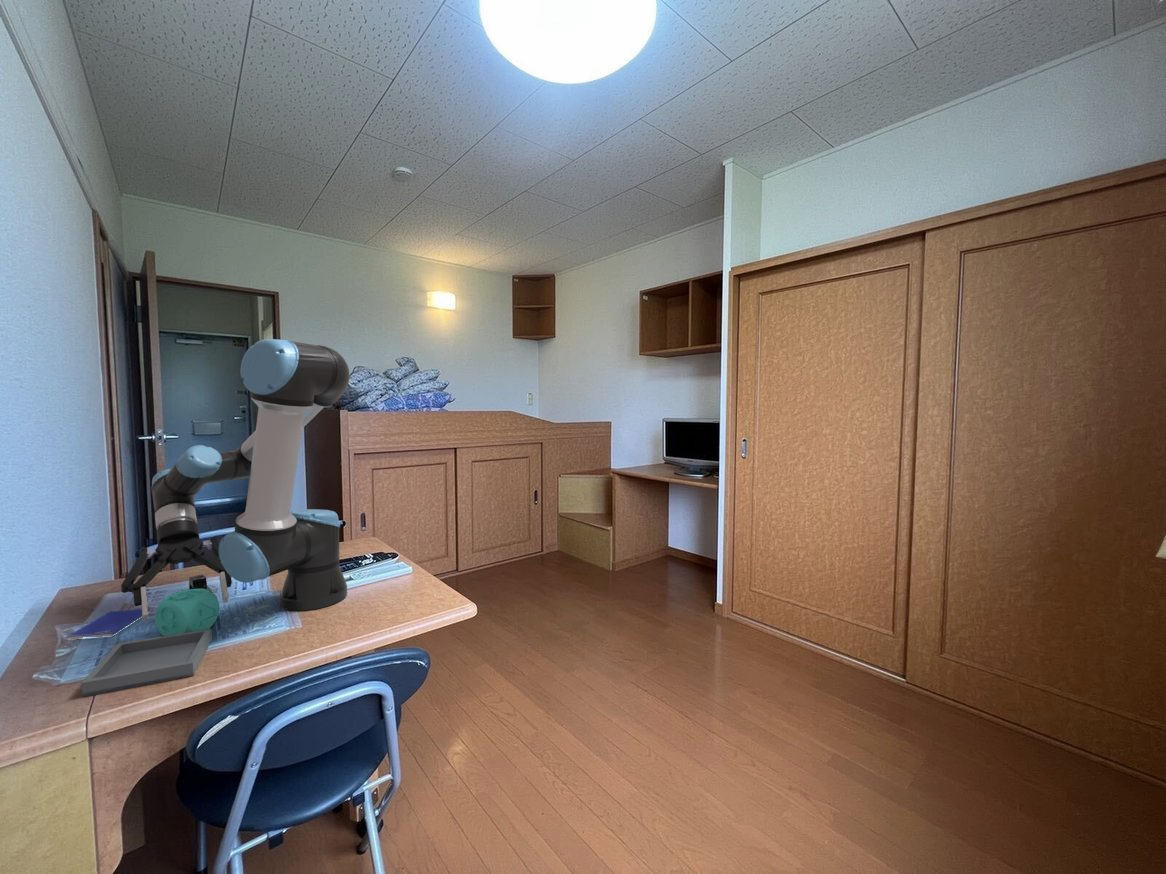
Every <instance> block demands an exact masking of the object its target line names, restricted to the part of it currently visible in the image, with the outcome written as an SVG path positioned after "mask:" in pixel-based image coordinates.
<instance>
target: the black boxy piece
mask: <svg viewBox="0 0 1166 874" xmlns="http://www.w3.org/2000/svg"><path fill="white" fill-rule="evenodd" d="M190 589H207V590H209V591H211V592H212V591H213V589H212V588H210V587H209V586H208V582H207V577H206V576H205V575H204V574H199V575H197V574H196V575H193V576H189V577H188V588H186V589H185V588H184V589H183V590H180V591H184V590H190ZM212 593H213V592H212Z"/></svg>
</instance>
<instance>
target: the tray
mask: <svg viewBox="0 0 1166 874" xmlns="http://www.w3.org/2000/svg"><path fill="white" fill-rule="evenodd" d="M212 631H213V630H212V628H209V629H206V630H199V631H193V632H187V633H180V634H174V635H168V636H164V635H162V636H155V637H150V638H143V639H138V640H137V639H136V640H130V641H125V642H119V643H116V644H115V646H113V647H112V649H110V651H109V652H108V653H107V654H106V655H105V656H104V657H103V658H102V660H101V661H100V662H99V663H98V664H97V665H96V667H95V668H94V669H92V671H91V672H90V673H89V674H88V675H87V676H86V677H85V678H84V680H83V681H82V682H81V697H82V698H84V697H85V698H87V697H90V696H96V695H100V694H101V695H102V694H106V693H113V692H117V691H123V690H127V689H132V688H136V687H137V688H138V687H142V686H148V685H154V684H159V683H164V682H169V681H174V680H179V679H184V678H185V679H186V678H189V677H194V676H195V674H196V671H197V670H198V668H199V666H200V664H201V662H202V660H203V659H204V657H205V655H204V654H206V653H205V652H207V651H206V650H208V649H207V648H209V647H210V645H209V644H211V643H212V641H213V633H212ZM211 640H212V641H211ZM210 642H211V643H210ZM208 646H209V647H208Z"/></svg>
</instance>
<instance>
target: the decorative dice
mask: <svg viewBox="0 0 1166 874" xmlns="http://www.w3.org/2000/svg"><path fill="white" fill-rule="evenodd" d="M183 590H184V591H181V590H180V591H177V592H174V593H172V594H169V595H168V596H166V597H165V598H163V600H161V602H160V603H159V605H158V606H157V609H156V610H155V615H154V623H155V627H156V629H157V631H158V632H159V634H161V635H162V636H168V635H174V634H180V633H187V632H193V631H199V630H206V629H211V627H212V626H213V625H214V623H215V622H216V621H217V619H218V617H219V613H220V601H219V599H218V597H217V595H216V594H213V593H212V592H211V591H209V590H207V589H190V590H185V589H183Z"/></svg>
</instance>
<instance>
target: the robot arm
mask: <svg viewBox="0 0 1166 874" xmlns="http://www.w3.org/2000/svg"><path fill="white" fill-rule="evenodd" d="M239 370H240V372H239V373H240V378H241V379H242V380H243V381H242V383H243V385H244V387H245V388H246V389H247V390H248V391H249V392H251V398H250V399H251V400H252V401H253V403H254V404H255V405H256V406H257V407H258V412H257V418H256V419H257V420H256V426H255V431H253V432H252V434H251V435H249V437H248V438H247V439H246V440H245V441H244V442H243V443H242V444H241V445H240V446H239V447H238V448H237V449H236V450H228V451H218V450H216V449H214V448H213V447H211V446H205V445H202V444H198V445H193V446H190V447H189V448H188V449H187V450H186V451H185V452H184V453H182V455H180V456H178V459H177V460H176V462H175V463H174V465H173V466H172V467H171V468H167V469H163V470H161V471H160V472H158V473H155V474H154V475H153V477H152V480H151V494H152V501H153V502H152V503H153V509H154V520H155V529H156V541H157V546H156V548H147V547H146V546H142V547H140V548H139V555H138V557H137V559H136V560H135V562H134V564H133V566H132V567H131V569H130V570H129V572H128V573H127V575H126V576H125V578H124V580H123V581H122V583H121V585H120V590H121V593H123V594H127V593H132V595H133V605H134V606H135V607H138V606H140V607H141V609H142V622H146V621H148V620H149V614H148V609H149V608H148V599H147V588H146V586H147V585H148V584H149V583H151V582H152V580H153V579H154V578H155V577H156V576H157V575H158V574H159V573H160V572H161V571H162V570H163V569H165V568H166V567H167V566H168V565H169V564H170V565H178V564H180V563H184V564H186V563H190V562H191V561H194V562H196V563H200V564H202V565H203V566H206V567H207V568H209V569H210V570H212V571H214V572H216V573H218V574H219V577H218V579H219V584H220V585H219V586H220V590H221V591H220V592H221V598H222V603H223V604H226V603H228V601H229V597H230V596H229V591H228V590H229V589H228V588H231V586H232V583H233V582H232V581H233V579H234V580H236V581H238V582H240V583H247V584H248V583H253V582H256V581H259V580H265V579H267V578H268V577H271V576H274V575H277V574H280V573H282V572H286V571H287V572H286V573H287V574H286V576H285V579H284V583H283V586H282V588H281V592H280V595H279V604H280V607H281V608H282V609H284V610H285V609H286V610H288V611H309V610H316V609H323V608H326V607H329V606H332V605H335V604H337V603H339V602H341V601H342V600H344V599H345V598H346V597H347V596H348V584H347V581H346V579H345V577H344V574H343V571H342V569H341V566H340V528H341V525H340V522H339V521H340V520H339V516H338V515H339V514H337V512H336V511H333V510H329V509H319V508H318V509H316V508H315V509H313V508H312V509H311V508H308V509H293V510H292V502H293V495H294V489H295V482H296V475H297V467H298V461H299V453H300V452H299V451H300V447H301V439H302V434H303V433H302V431H303V429H304V428H305V426H307V424H309V423H310V421H312V420H313V419H314V418H315V417H316V416H317V415H318V414H319V412H321V410H323V409H324V408H330V407H332V406H333V405H334V404H335V403H336V402H338V400H339V399H340V398H341V397H342V395H343V394H344V393H345V391H346V390H347V388H348V386H349V381H350V376H351V375H350V369H349V365H348V363H347V362H346V360H345V359H344V357H343V356H342V355H341V354H340V353H339V352H338V351H336V350H335V349H334V348H331V347H327V346H326V345H325V346H324V345H318V344H317V345H316V344H309V343H305V342H297V341H291V340H288V339H275V338H265V339H261V340H258V341H256V342H255V343H254V344H253V345H251V346H250V347H249V348H248V349H247V350H246V351H245V353H244V354H243V357H242V360H241V364H240V369H239ZM241 479H242V480H243V479H249V481H248V488H247V496H246V504H245V511H244V512H243V513H242V514H241V513H240V515H238V516H237V517H236V519H235V525H234V531H232V532H228V533H227V534H225V535H224V536H223V537H222V538H221V539H220V541H218V539H217V538H218V537H216V536H211V538H210V539H208V540H204V541H203V540H202V539H201V538H200V532H199V525H198V519H197V518H198V517H197V514H196V513H197V511H196V506H195V496H196V495H197V494H198V493H199V492H200V491H201V490H202V488H203V487H204V486H205V485H207V484H213V483H219V482H220V483H221V482H228V481H234V480H235V481H236V480H241ZM203 548H206V549H207V550H209V551H210V550H211V552H212V553H213V554H214V556H216V557H217V558H218V560H217V559H216V558H214V557H212V556H211V555H209V554H207V553H206V552H205V551H203V550H202V549H203ZM154 555H156V556H157V557H158V558H157V560H156V561H155V563H154V564H152V566H150V568H149V569H147V571H146V572H145V573H143V574H142V575H141V577H139V579H137V578H138V576H139V575H140V573H141V572H142V570H143V568H144V567H145V565H146V563H147V561H148V560H150V559H151V558H152V556H154ZM219 560H220V561H219ZM232 578H233V579H232ZM136 580H137V581H136Z"/></svg>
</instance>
